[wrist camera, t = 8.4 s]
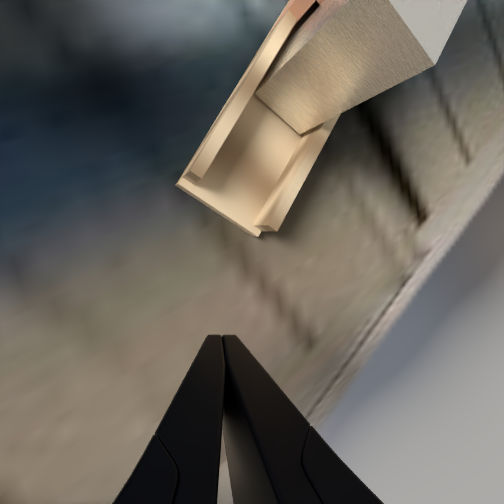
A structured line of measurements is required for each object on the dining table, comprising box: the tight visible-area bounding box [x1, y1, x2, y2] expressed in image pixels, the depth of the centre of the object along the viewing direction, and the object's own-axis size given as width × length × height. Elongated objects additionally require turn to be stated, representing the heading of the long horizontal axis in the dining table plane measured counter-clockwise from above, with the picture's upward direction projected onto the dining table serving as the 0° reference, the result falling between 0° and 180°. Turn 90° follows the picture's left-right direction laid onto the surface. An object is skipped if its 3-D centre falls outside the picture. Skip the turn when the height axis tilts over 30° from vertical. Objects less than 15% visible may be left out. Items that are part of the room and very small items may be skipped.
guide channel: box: [175, 0, 341, 237], centre depth 21 cm, size 19×7×3 cm, turn 148°
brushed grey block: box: [255, 0, 467, 134], centre depth 17 cm, size 9×4×10 cm, turn 148°
